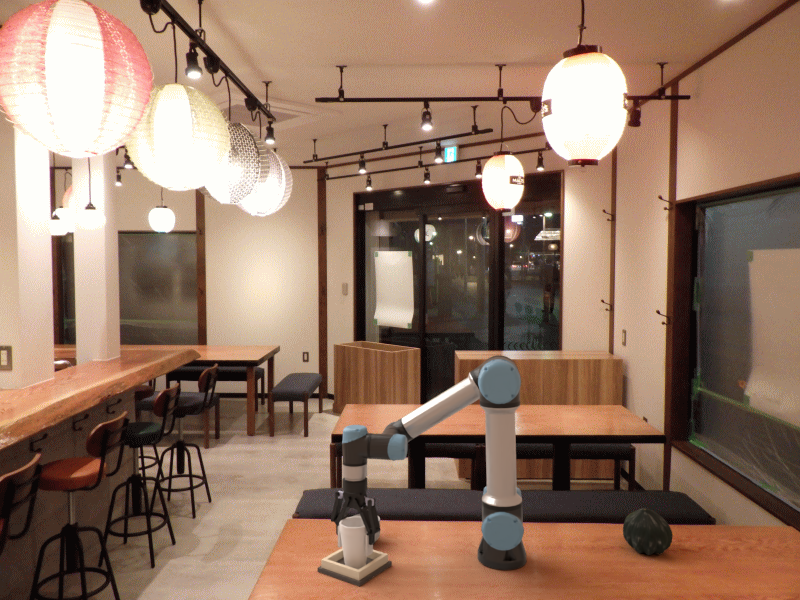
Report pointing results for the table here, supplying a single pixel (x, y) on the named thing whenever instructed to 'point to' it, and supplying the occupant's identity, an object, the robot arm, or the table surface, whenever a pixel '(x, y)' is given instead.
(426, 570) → the table surface
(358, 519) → the foam cup
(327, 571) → the tray
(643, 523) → the squash
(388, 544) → the table surface
